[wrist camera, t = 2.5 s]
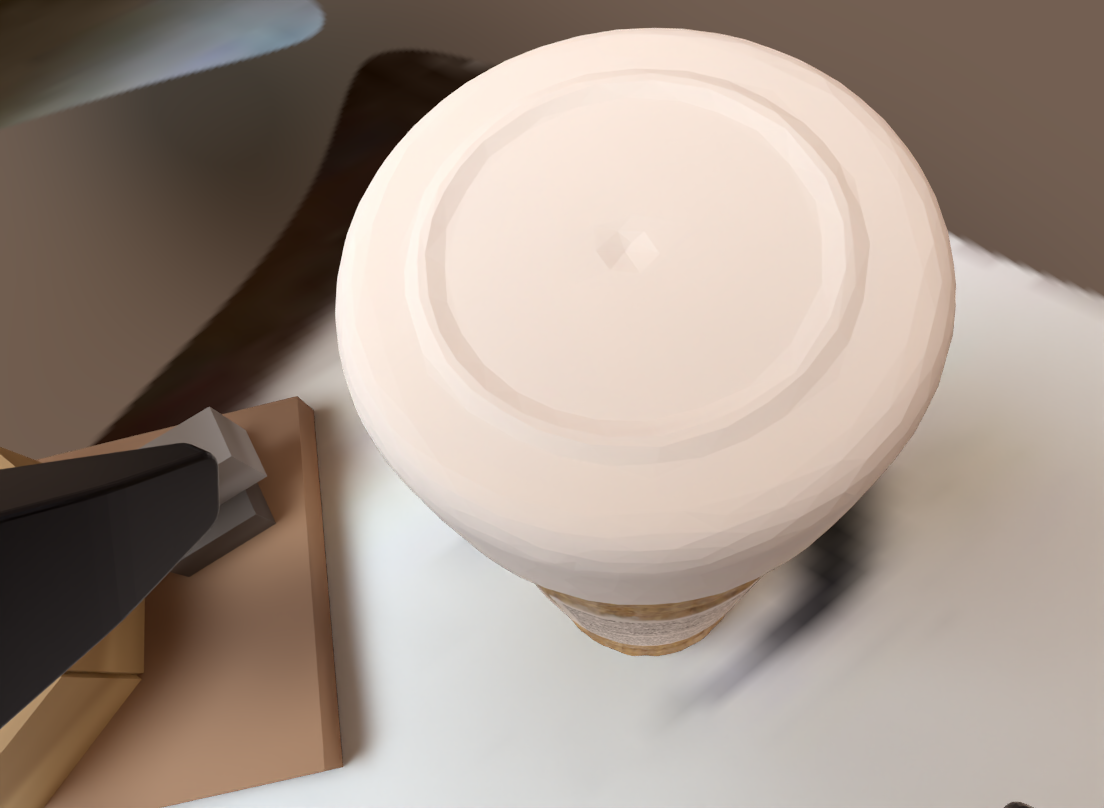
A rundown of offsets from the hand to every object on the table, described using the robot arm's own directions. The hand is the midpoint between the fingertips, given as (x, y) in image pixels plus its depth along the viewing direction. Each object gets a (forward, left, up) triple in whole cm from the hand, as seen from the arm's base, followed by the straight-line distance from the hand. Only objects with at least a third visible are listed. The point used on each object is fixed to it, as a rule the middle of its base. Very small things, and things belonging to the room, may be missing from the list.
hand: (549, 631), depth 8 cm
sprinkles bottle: (+2, -1, -10) cm, 10 cm away
